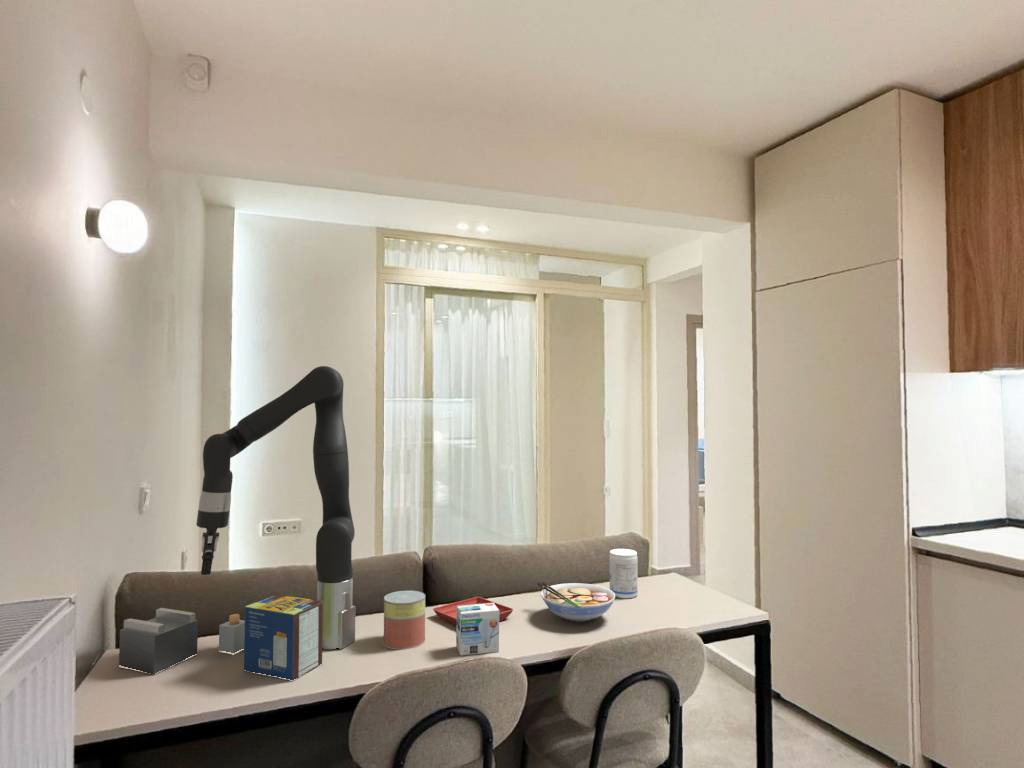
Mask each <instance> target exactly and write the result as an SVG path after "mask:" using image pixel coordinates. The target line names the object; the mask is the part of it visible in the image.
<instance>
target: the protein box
mask: <svg viewBox="0 0 1024 768" xmlns="http://www.w3.org/2000/svg"><path fill="white" fill-rule="evenodd" d="M322 616H323V601H320V600H317V599H311V598H304V597H303V598H302V597H296V596H290V595H289V596H287V595H281V594H280V595H279V594H274V595H272V596H269V597H267V598H264V599H261V600H259V601H256V602H252V603H250V604H248V605H245V606H244V621H245V635H244V650H243V671H244V670H246V671H250V672H255V673H261V674H266V675H271V676H277V677H281V678H286V679H290V680H294V679H296V678H297V679H299V678H300V677H299V676H301V675H302V676H304V675H306V674H307V673H309V672H311V671H313V670H314V669H316V668H318V667H319V666H321V665H322V664H323V649H322ZM320 664H321V665H320ZM318 665H319V666H318ZM317 666H318V667H317ZM315 667H316V668H315ZM313 668H314V669H313ZM312 669H313V670H312ZM310 670H311V671H310ZM246 671H245V672H246ZM308 671H309V672H308ZM250 672H249V673H250ZM306 672H307V673H306ZM255 673H254V674H255ZM305 673H306V674H305ZM303 674H304V675H303ZM302 676H301V677H302ZM298 677H299V678H298ZM297 679H296V680H297ZM294 681H295V680H294Z"/></svg>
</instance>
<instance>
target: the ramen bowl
mask: <svg viewBox="0 0 1024 768" xmlns="http://www.w3.org/2000/svg"><path fill="white" fill-rule="evenodd" d="M536 585H537V586H538V587H540V588H542V590H541V591H540V596H541V599H542V600H543V602H544V603H545V605H546V606H547V608H548V609H549V610H550V611H551V613H553V614H555V615H556V616H558V617H560V618H562V619H565V620H567V621H569V622H573V623H574V622H575V623H585V621H586V622H588V621H590V620H594V619H598V618H599V617H601V616H602V615H604V614H605V613H607V612H608V610H609V609H610V608H611V607H612V605H613V603H614V601H615V599H616V597H615V593H614V592H613V591H611V590H610V588H607V587H605V586H602V585H596V584H591V583H582V582H581V583H578V582H568V583H559V584H558V583H557V584H553V585H549V584H547V583H546V582H544V581H542V582H541V583H540V582H536Z"/></svg>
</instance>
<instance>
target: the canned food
mask: <svg viewBox="0 0 1024 768" xmlns="http://www.w3.org/2000/svg"><path fill="white" fill-rule="evenodd" d="M425 642H426V593H424V592H423V591H419V590H411V589H410V590H397V591H393V592H389V593H388V594H387V593H386V594H385V595H384V596H383V643H384V644H383V646H385V647H386V648H388V647H389V648H388V649H391V648H392V650H409V649H414V648H417V647H420V646H422V645H424V644H425Z"/></svg>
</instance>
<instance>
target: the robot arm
mask: <svg viewBox="0 0 1024 768" xmlns="http://www.w3.org/2000/svg"><path fill="white" fill-rule="evenodd" d="M343 402H344V379H343V377H342V375H341V373H340V372H339V371H338V370H336V369H335V368H333V367H331V366H327V365H321V366H320V365H319V366H317V367H314V368H313V369H311V371H309V373H307V374H306V375H305V376H304V377H303V378H302V379H300V380H299V381H298V382H297V383H296V384H295V385H293V386H292V387H291V388H289V389H288V390H286V392H284V393H282V394H281V395H279V396H278V397H276V398H274V399H272V400H271V401H269V402H267V403H266V404H264V405H263V406H261V407H260V408H257V409H256V410H255V411H252V412H251V413H249V414H247V415H246V416H244V417H243V418H242V419H240V420H239V421H238V422H237V424H235V425H234V426H233V427H231V428H229V429H228V430H226V431H224V432H222V433H215V434H213V435H210V436H209V437H208V438H207V439H206V440H205V443H204V446H203V449H202V463H203V466H202V467H203V480H202V487H201V493H200V496H199V501H198V510H197V518H196V527H198V528H201V529H206V531H205V532H202V536H201V553H202V555H201V560H202V564H201V570H200V574H201V575H202V576H208V575H209V576H210V574H211V573H212V565H213V560H214V558H215V556H214V555H215V552H217V546H218V542H219V537H220V532H217V530H218V529H223V528H226V527H228V525H229V518H230V511H231V504H232V503H231V502H232V489H233V488H232V487H233V478H234V476H233V472H232V470H231V469H230V468H231V458H233V457H235V456H237V455H238V454H240V453H241V452H243V451H244V450H245V449H247V448H248V447H249V446H250V445H252V444H253V443H254V442H257V441H258V440H260V439H262V438H263V437H265V436H267V435H268V434H270V433H271V432H273V431H274V430H276V429H277V428H279V427H280V426H281V425H283V424H284V423H285V422H286V421H287V420H289V419H290V418H291V417H292V416H294V415H295V414H297V413H298V412H300V411H302V410H303V409H305V408H306V407H308V406H311V405H313V404H314V408H315V409H314V410H315V426H314V428H315V429H314V435H313V442H312V443H313V445H312V456H313V459H312V460H313V467H314V468H313V469H314V476H315V480H316V484H317V488H318V491H319V493H320V496H321V501H322V526H320V528H319V529H318V531H317V534H316V539H315V569H316V574H317V585H316V587H317V589H316V590H317V593H316V600H320V601H323V616H322V648H323V649H322V650H337V649H336V648H339V649H340V650H342V648H343V649H344V648H346V647H347V645H348V646H349V645H351V644H353V643H355V642H356V608H357V607H356V606H355V605H354V604H353V587H354V586H353V583H354V582H353V579H354V578H353V577H354V568H353V567H354V566H353V563H352V544H353V541H354V538H355V531H356V530H355V526H354V525H355V524H354V522H353V516H352V511H351V510H352V509H351V505H350V504H351V503H350V469H349V468H350V467H349V466H350V463H349V452H348V451H349V450H348V443H347V442H348V441H347V434H346V428H345V427H346V426H345V423H344V414H343V413H344V412H343V411H344V410H343V408H344V405H343V404H344V403H343ZM352 642H353V643H352ZM350 643H351V644H350ZM339 649H338V650H339Z"/></svg>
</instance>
